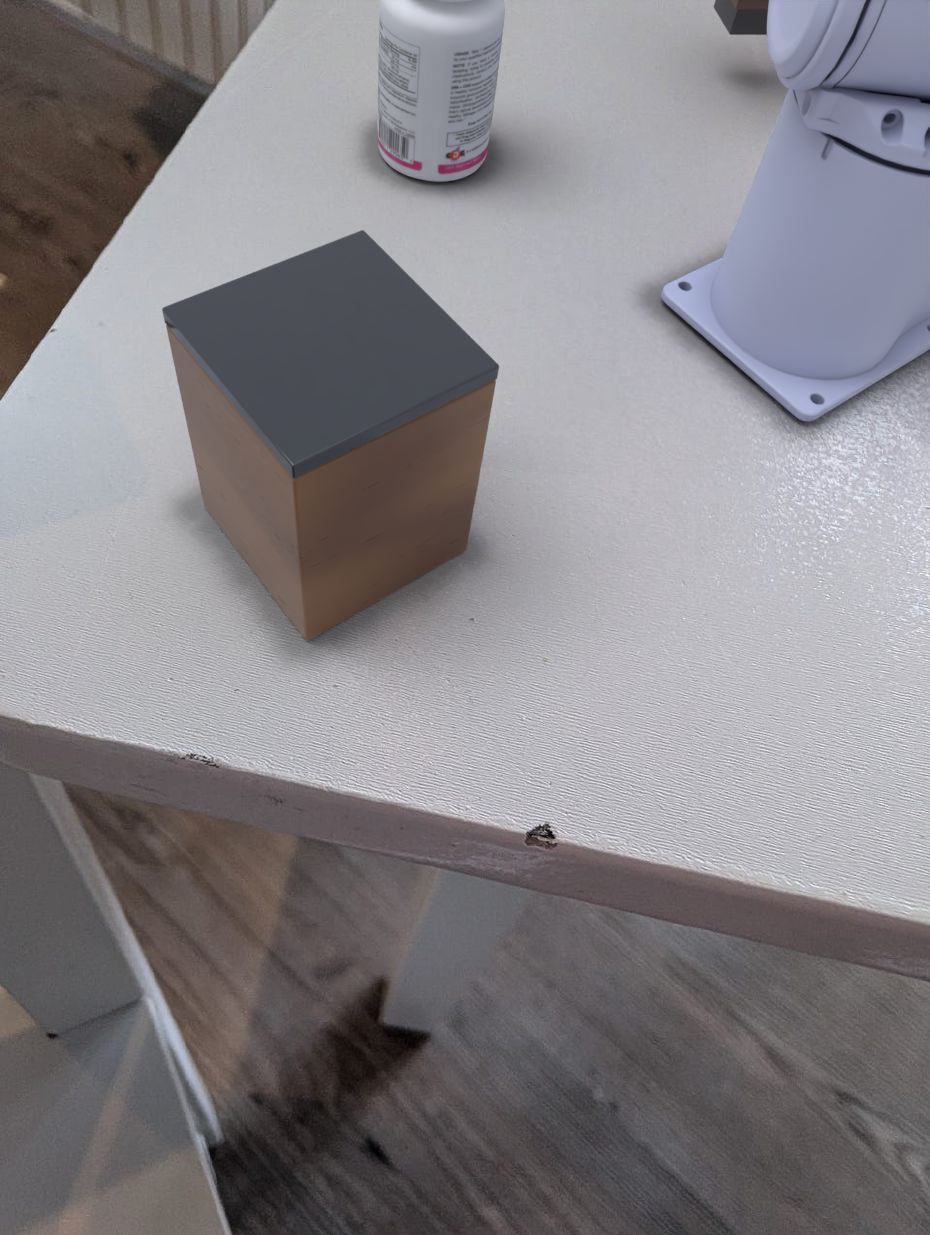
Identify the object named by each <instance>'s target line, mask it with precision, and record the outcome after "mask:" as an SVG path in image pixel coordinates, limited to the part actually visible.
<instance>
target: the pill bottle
mask: <svg viewBox="0 0 930 1235" xmlns="http://www.w3.org/2000/svg"><path fill="white" fill-rule="evenodd" d="M505 5H506V4H505V0H379V16H378V17H379V21H378V23H379V25H378V64H377V65H378V67H377V114H376V116H377V117H376V138H377V140H376V142H377V148H378V150H379V153H380V156H381V157H382V158H383V160H384V161H385V162H386V163H387V164H388V165H389V166H390V167H391V168H392V169H394V170H396V172H399V173H400V174H403V175H405V176H408V177H410V178H413V179H418V180H423V181H427V182H439V183H440V182H451V181H457V180H460V179H464V178H466V177H468V176H470V175H472V174H474V173H475V172H476V171H478V169H480V167H481V166H482V165H483V163H484V162H485V160H486V158H487V155H488V152H489V146H490V139H491V131H492V123H493V115H494V109H495V100H496V92H497V86H498V76H499V68H500V61H501V60H500V59H501V52H502V42H503V35H504V26H505V14H506V7H505Z"/></svg>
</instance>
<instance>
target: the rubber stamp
mask: <svg viewBox="0 0 930 1235" xmlns="http://www.w3.org/2000/svg"><path fill="white" fill-rule="evenodd" d="M768 5H769V0H715V1H714V3H713V9H714V11H715V13H716V14H717V15H718V18H719V19H720V21H721V22H722V24H723V25H724V27H725V29H726V31H727V32H728V34H729V35H732V36H767V15H768Z"/></svg>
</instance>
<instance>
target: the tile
mask: <svg viewBox="0 0 930 1235" xmlns="http://www.w3.org/2000/svg"><path fill="white" fill-rule="evenodd" d="M161 311H162V315H163V316H162V317H163V319H164V323H165V326H166V325H167V326H168V327H169V328H170V329H171V331H172V332H173V333H174V334H175V335H176V337H177V338H178V339H179V340H180V342H181V343H182V344H183V345H184V346H185V348H186V349H187V350H188V351H189V353H190V354H191V355H192V356H193V357H194V359H195V360H196V361H197V362H198V363H199V365H200V366H201V367H202V368H203V370H204V371H205V372H206V373H207V374H208V376H209V377H210V378H211V379H212V381H213V382H214V383H215V384H216V385H217V387H218V388H219V389H220V390H221V391H222V393H223V394H224V395H225V396H226V398H227V399H228V400H229V401H230V402H231V404H232V405H233V406H234V407H235V409H236V410H237V411H238V412H239V413H240V415H241V416H242V417H243V418H244V419H245V421H246V422H247V423H248V424H249V426H250V427H251V428H252V429H253V430H254V432H255V433H256V434H257V435H258V437H259V438H260V439H261V440H262V441H263V443H264V444H265V445H266V446H267V448H268V449H269V450H270V451H271V452H272V454H273V455H274V456H275V457H276V458H277V460H278V461H279V462H280V463H281V465H282V466H283V467H284V468H285V469H286V471H287V472H288V473H289V474H290V476H291V477H292V478H293V479H296V478H298V477H300V476H302V475H304V474H306V473H308V472H310V471H312V470H314V469H316V468H318V467H320V466H322V465H324V464H326V463H328V462H330V461H332V460H334V459H336V458H338V457H340V456H342V455H344V454H346V453H348V452H350V451H352V450H354V449H356V448H359V447H361V446H363V445H365V444H367V443H369V442H371V441H373V440H375V439H377V438H379V437H381V436H383V435H385V434H387V433H389V432H391V431H393V430H395V429H397V428H399V427H401V426H403V425H405V424H407V423H409V422H411V421H413V420H415V419H417V418H419V417H421V416H423V415H425V414H427V413H430V412H432V411H434V410H436V409H438V408H440V407H442V406H444V405H446V404H448V403H450V402H452V401H454V400H456V399H458V398H460V397H462V396H464V395H466V394H468V393H470V392H472V391H474V390H476V389H478V388H480V387H482V386H484V385H486V384H488V383H490V382H492V381H494V380H495V381H496V380H497V379H498V376H499V371H500V365H499V363H498V362H497V361H496V360H495V359H493V358H492V357H491V355H490V354H488V352H486V351H485V350H484V349H483V348H482V347H481V345H480V344H478V343H477V341H475V340H474V338H473V337H471V336H470V334H469V333H467V331H466V330H464V328H462V326H460V325H459V324H458V323H457V321H455V320H454V319H453V318H452V316H451V315H449V314H448V313H447V311H446V310H444V309H443V308H442V307H441V306H440V305H439V304H438V303H437V302H436V301H435V300H434V299H433V298H432V296H431V295H430V294H428V293H427V292H426V291H425V290H424V289H423V288H422V287H421V285H420V284H418V282H416V280H414V279H413V278H412V277H411V276H410V275H409V274H408V273H407V272H406V270H404V268H402V267H401V265H400V264H398V263H397V262H396V261H395V260H394V259H393V258H392V257H391V256H390V255H389V254H388V252H386V251H385V250H384V249H383V248H382V247H381V246H380V245H379V244H378V243H377V242H376V241H375V239H373V238H372V237H371V236H370V235H369V234H368V233H367V232H366V231H365V230H364V229H360V230H358V231H355V232H353V233H351V234H349V235H345V236H343V237H340V238H337V239H336V240H333V241H330V242H327V243H325V244H322V245H320V246H317V247H315V248H312V249H310V250H306V251H304V252H302V253H299V254H296V255H294V256H292V257H289V258H287V259H284V260H281V261H279V262H277V263H273V264H271V265H269V266H266V267H263V268H261V269H259V270H256V271H252V272H251V273H248V274H246V275H245V274H244V275H243V276H240V277H237V278H235V279H233V280H230V281H228V282H224V283H222V284H220V285H216V286H214V287H212V288H209V289H207V290H204V291H201V292H199V293H197V294H194V295H192V296H189V297H186V298H184V299H181V300H178V301H176V302H174V303H171V304H168V305H166V306H164V307H162V309H161Z"/></svg>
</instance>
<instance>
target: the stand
mask: <svg viewBox="0 0 930 1235" xmlns="http://www.w3.org/2000/svg"><path fill="white" fill-rule="evenodd" d="M165 328H166V332H167V338H168V342H169V347H170V352H171V356H172V362H173V366H174V370H175V374H176V379H177V384H178V389H179V393H180V399H181V403H182V407H183V412H184V417H185V421H186V422H185V423H186V427H187V432H188V436H189V441H190V444H191V445H190V446H191V450H192V455H193V459H194V464H195V468H196V469H195V470H196V474H197V478H198V479H197V480H198V483H199V488H200V493H201V498H202V502H203V507H204V509H205V510H206V511H207V512H208V515H209V516H210V517H211V518H212V519H213V520H214V522H215V523H216V525H217V526H218V527H219V529H220V530H221V531H222V532H223V534H224V535H225V536H226V537H227V539H228V540H229V541H230V543H231V544H232V545H233V547H234V548H235V549H236V551H237V552H238V553H239V555H240V556H241V558H243V560H244V561H245V563H246V564H247V565H248V567H249V568H250V569H251V570H252V572H253V573H254V575H255V576H256V578H258V580H259V581H260V582H261V583H262V585H263V586H264V588H265V589H266V591H267V592H268V593H269V594H270V596H271V597H272V598H273V600H274V601H275V602H276V604H277V605H278V606H279V608H280V609H281V610H282V611H283V613H284V614H285V616H286V617H287V618H288V619H289V621H290V623H291V624H292V625H293V626H294V627H295V629H296V630H297V631H298V633H299V634H300V635H301V637H302V638H303V640H305V641H306V642H308V641H311V640H313V639H314V638H316V637H318V636H320V635H321V634H323V633H324V632H326V631H328V630H330V629H332V628H333V627H335V626H337V625H339V624H341V623H342V622H344V621H346V620H347V619H349V618H351V617H353V616H354V615H356V614H358V613H360V612H361V611H363V610H365V609H366V608H368V607H370V606H372V605H374V604H375V603H377V602H379V601H380V600H383V599H384V598H386V597H387V596H389V595H392V594H393V593H394V592H397V591H398V590H400V589H402V588H404V587H405V586H407V585H409V584H410V583H413V582H414V581H416V580H417V579H419V578H421V577H423V576H424V575H426V574H428V573H430V572H432V571H433V570H435V569H436V568H438V567H440V566H442V565H444V564H445V563H447V562H449V561H450V560H452V559H454V558H456V557H457V556H459V555H461V554H464V553H465V552H466V551H467V549H468V544H469V537H470V531H471V526H472V521H473V515H474V510H475V504H476V497H477V492H478V488H479V487H478V486H479V480H480V475H481V470H482V465H483V464H482V463H483V459H484V458H483V457H484V452H485V447H486V441H487V435H488V429H489V424H490V419H491V412H492V407H493V401H494V396H495V391H496V384H497V381H496V380H494V381H492V382H490V383H488V384H486V385H484V386H482V387H480V388H478V389H476V390H474V391H472V392H470V393H468V394H466V395H464V396H462V397H460V398H458V399H456V400H454V401H452V402H450V403H448V404H446V405H444V406H442V407H440V408H438V409H436V410H434V411H432V412H430V413H427V414H425V415H423V416H421V417H419V418H417V419H415V420H413V421H411V422H409V423H407V424H405V425H403V426H401V427H399V428H397V429H395V430H393V431H391V432H389V433H387V434H385V435H383V436H381V437H379V438H377V439H375V440H373V441H371V442H369V443H367V444H365V445H363V446H361V447H359V448H356V449H354V450H352V451H350V452H348V453H346V454H344V455H342V456H340V457H338V458H336V459H334V460H332V461H330V462H328V463H326V464H324V465H322V466H320V467H318V468H316V469H314V470H312V471H310V472H308V473H306V474H304V475H302V476H300V477H298V478H296V479H293V478H292V477H291V476H290V474H289V473H288V472H287V471H286V469H285V468H284V467H283V466H282V465H281V463H280V462H279V461H278V460H277V458H276V457H275V456H274V455H273V454H272V452H271V451H270V450H269V449H268V448H267V446H266V445H265V444H264V443H263V441H262V440H261V439H260V438H259V437H258V435H257V434H256V433H255V432H254V430H253V429H252V428H251V427H250V426H249V424H248V423H247V422H246V421H245V419H244V418H243V417H242V416H241V415H240V413H239V412H238V411H237V410H236V409H235V407H234V406H233V405H232V404H231V402H230V401H229V400H228V399H227V398H226V396H225V395H224V394H223V393H222V391H221V390H220V389H219V388H218V387H217V385H216V384H215V383H214V382H213V381H212V379H211V378H210V377H209V376H208V374H207V373H206V372H205V371H204V370H203V368H202V367H201V366H200V365H199V363H198V362H197V361H196V360H195V359H194V357H193V356H192V355H191V354H190V353H189V351H188V350H187V349H186V348H185V346H184V345H183V344H182V343H181V342H180V340H179V339H178V338H177V337H176V335H175V334H174V333H173V332H172V331H171V329H170V328H169V327H168V326H167V325H166V324H165Z"/></svg>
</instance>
